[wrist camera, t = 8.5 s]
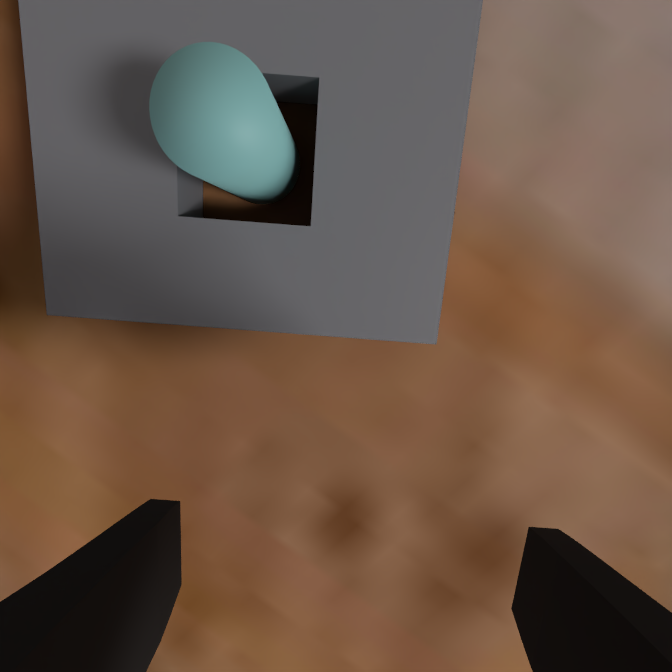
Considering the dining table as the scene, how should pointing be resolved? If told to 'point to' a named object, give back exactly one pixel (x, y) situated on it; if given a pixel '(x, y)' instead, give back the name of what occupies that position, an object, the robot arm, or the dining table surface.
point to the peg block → (187, 190)
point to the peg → (223, 123)
